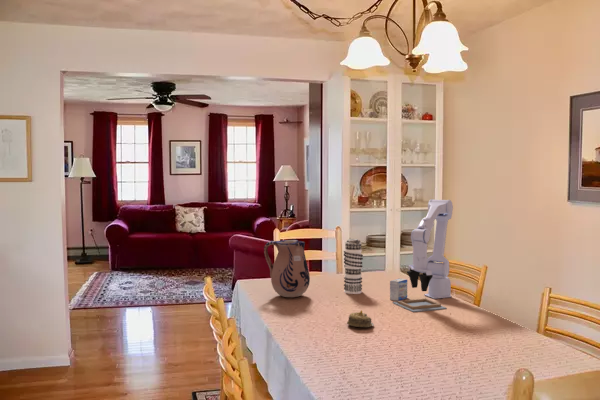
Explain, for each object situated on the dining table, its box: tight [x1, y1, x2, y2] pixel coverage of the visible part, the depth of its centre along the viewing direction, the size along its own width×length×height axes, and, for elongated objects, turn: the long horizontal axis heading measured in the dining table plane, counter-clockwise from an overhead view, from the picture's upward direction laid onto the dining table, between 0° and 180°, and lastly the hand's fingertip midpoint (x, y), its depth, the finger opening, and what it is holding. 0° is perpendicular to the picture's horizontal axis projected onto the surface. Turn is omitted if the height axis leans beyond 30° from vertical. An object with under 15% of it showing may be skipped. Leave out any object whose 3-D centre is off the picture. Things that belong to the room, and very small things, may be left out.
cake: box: [346, 310, 374, 328], centre depth 191 cm, size 10×10×5 cm
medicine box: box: [389, 278, 408, 302], centre depth 231 cm, size 8×4×9 cm, turn 138°
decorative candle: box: [343, 238, 364, 295], centre depth 245 cm, size 9×9×25 cm
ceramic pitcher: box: [263, 239, 311, 298], centre depth 237 cm, size 18×21×25 cm
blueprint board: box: [392, 298, 448, 313], centre depth 219 cm, size 16×16×2 cm
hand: (419, 289), depth 219 cm, fingers open, 7 cm apart
